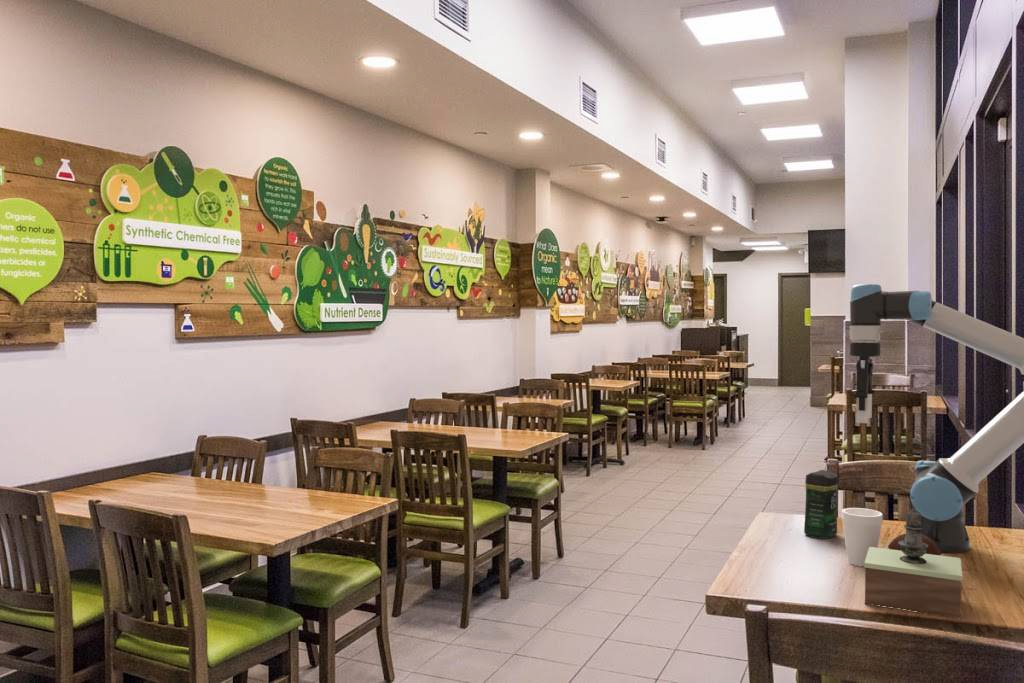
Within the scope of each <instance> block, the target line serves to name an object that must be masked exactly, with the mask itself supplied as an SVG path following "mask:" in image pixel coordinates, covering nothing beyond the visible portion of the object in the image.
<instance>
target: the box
mask: <svg viewBox="0 0 1024 683" xmlns="http://www.w3.org/2000/svg"><path fill="white" fill-rule="evenodd" d="M864 568H865V567H864ZM864 574H865V575H864V576H865V577H864V587H865V588H864V605H867V604H873V605H880V606H886V607H893V608H900V609H906V610H911V611H917V612H921V613H920V614H924V613H927V614H926V615H930V614H933V615H932V616H936V615H937V616H938V617H942V616H943V617H944V618H949V617H950V618H951V619H955V618H960V619H959V620H961V617H962V616H961V615H962V612H961V609H962V607H961V606H962V603H961V602H962V581H959V580H952V579H945V578H937V577H930V576H923V575H916V574H908V573H901V572H894V571H887V570H880V569H872V568H865V569H864ZM873 605H872V606H873ZM880 606H879V607H880ZM886 607H885V608H886ZM911 611H910V612H911ZM917 612H916V613H917ZM943 617H942V618H943Z"/></svg>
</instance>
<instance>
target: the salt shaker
mask: <svg viewBox="0 0 1024 683" xmlns="http://www.w3.org/2000/svg"><path fill="white" fill-rule="evenodd" d="M905 518H906V520H905V522H906V524H905V525H904V526H903V527H904V528H905V534H906V536H905V539H904V540H903V541H899V542H898V544H899V545H900V549H901V551H902V552H903V553H904V554H905V556H902V557H900V560H901V561H904V562H907V563H912V564H925V563H927V561H926V560H925V559H924V558H922V557H921V556H923V555H924V554H925V553H926V551H927V548H928V545H927V544H925V543H923V542H922V539H921V529H923V527H921V513H920V512H919V511H917V510H915V507H914V506H913V505H912V508H911V509H909V510H907V511H906V516H905Z"/></svg>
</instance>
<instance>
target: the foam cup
mask: <svg viewBox="0 0 1024 683" xmlns="http://www.w3.org/2000/svg"><path fill="white" fill-rule="evenodd" d="M883 517H884V516H883V513H882V512H881V511H878V510H876V509H870V508H864V507H863V508H861V507H847V508H843V509H842V510H841V521H842V527H843V535H844V542H845V544H844V545H845V550H846V558H847V562H848V564H850V563H851V564H850V565H852V564H853V565H852V566H856V565H858V566H857V567H861V566H864V562H865V559H866V556H867V553H868V550H869V547H876V548H879V543H880V537H881V530H882V524H883V522H884V521H883Z"/></svg>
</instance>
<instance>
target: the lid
mask: <svg viewBox="0 0 1024 683" xmlns="http://www.w3.org/2000/svg"><path fill="white" fill-rule="evenodd" d="M902 556H905V554H904V553H903V552H902V551H900V550H892V549H889V548H882V547H878V548H876V547H869V550H868V553H867V556H866V559H865V562H864V567H863V568H872V569H880V570H887V571H894V572H901V573H908V574H916V575H923V576H930V577H937V578H945V579H952V580H959V581H961V582H962V581H963V571H962V570H963V569H962V560H961V557H956V556H955V557H954V556H947V555H940V556H939V555H932V554H924V555H923V556H921V557H922V558H924V559H925V560H926V561H927V563H925V564H912V563H907V562H904V561H901V560H900V557H902Z"/></svg>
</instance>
